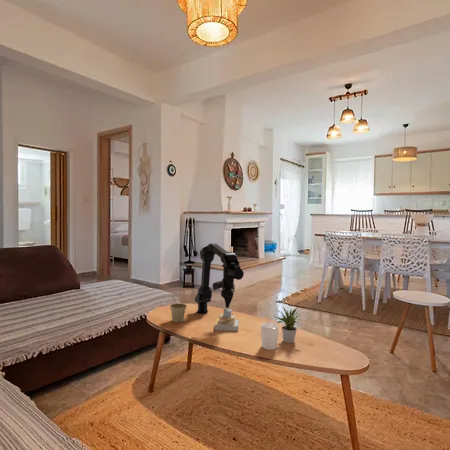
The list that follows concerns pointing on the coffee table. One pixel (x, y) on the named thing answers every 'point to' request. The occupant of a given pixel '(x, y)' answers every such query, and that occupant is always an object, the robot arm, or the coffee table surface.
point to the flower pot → (178, 312)
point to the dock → (227, 326)
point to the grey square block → (227, 312)
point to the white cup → (269, 335)
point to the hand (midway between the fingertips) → (227, 305)
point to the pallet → (227, 319)
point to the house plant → (288, 325)
